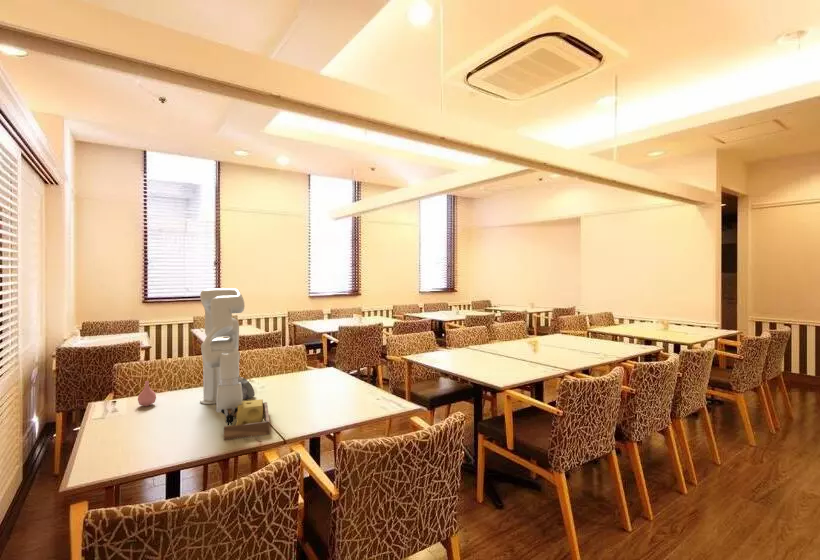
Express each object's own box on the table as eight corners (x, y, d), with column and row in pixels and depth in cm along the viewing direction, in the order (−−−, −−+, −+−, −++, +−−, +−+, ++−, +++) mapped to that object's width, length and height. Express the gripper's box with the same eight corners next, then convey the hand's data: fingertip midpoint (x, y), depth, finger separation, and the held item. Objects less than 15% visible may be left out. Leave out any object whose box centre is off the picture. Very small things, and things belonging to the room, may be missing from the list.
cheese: (235, 432, 167) (235, 408, 167) (238, 422, 177) (238, 400, 177) (262, 429, 170) (262, 405, 170) (264, 420, 180) (264, 398, 180)
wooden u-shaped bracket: (227, 417, 184) (227, 406, 183) (267, 412, 190) (267, 402, 190) (224, 440, 159) (223, 427, 159) (269, 434, 165) (269, 421, 165)
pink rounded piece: (149, 408, 195) (149, 383, 195) (133, 408, 196) (133, 383, 195) (159, 403, 203) (159, 379, 203) (144, 402, 203) (144, 379, 203)
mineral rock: (232, 394, 219) (232, 375, 218) (253, 391, 223) (253, 373, 223) (232, 401, 207) (232, 381, 207) (255, 398, 211) (254, 379, 211)
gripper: (248, 377, 178) (248, 418, 178) (210, 380, 172) (211, 423, 173) (248, 381, 171) (248, 424, 171) (209, 385, 165) (209, 429, 166)
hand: (229, 424), depth 172 cm, fingers closed
